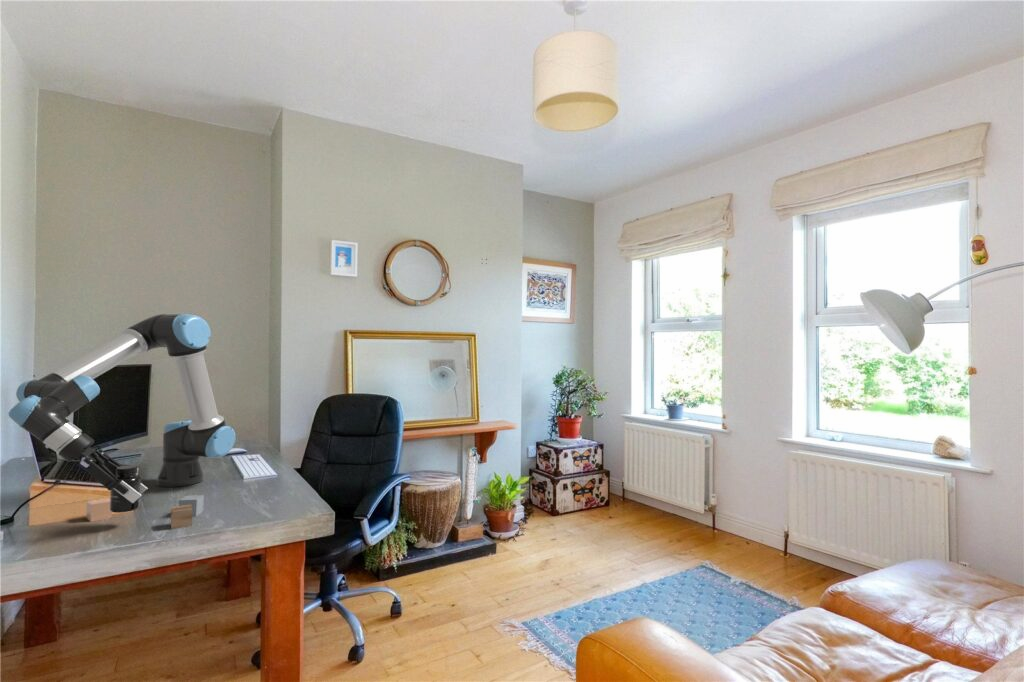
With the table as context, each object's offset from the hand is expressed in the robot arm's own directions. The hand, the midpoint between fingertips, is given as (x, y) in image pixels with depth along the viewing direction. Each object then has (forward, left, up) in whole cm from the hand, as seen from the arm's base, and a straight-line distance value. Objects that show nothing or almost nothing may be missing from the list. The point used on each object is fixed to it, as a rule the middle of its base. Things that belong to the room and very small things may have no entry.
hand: (140, 495), depth 148 cm
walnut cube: (+5, +11, -9) cm, 14 cm away
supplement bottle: (0, -3, -4) cm, 5 cm away
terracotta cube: (-11, -12, -9) cm, 19 cm away
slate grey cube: (-6, +12, -9) cm, 16 cm away
